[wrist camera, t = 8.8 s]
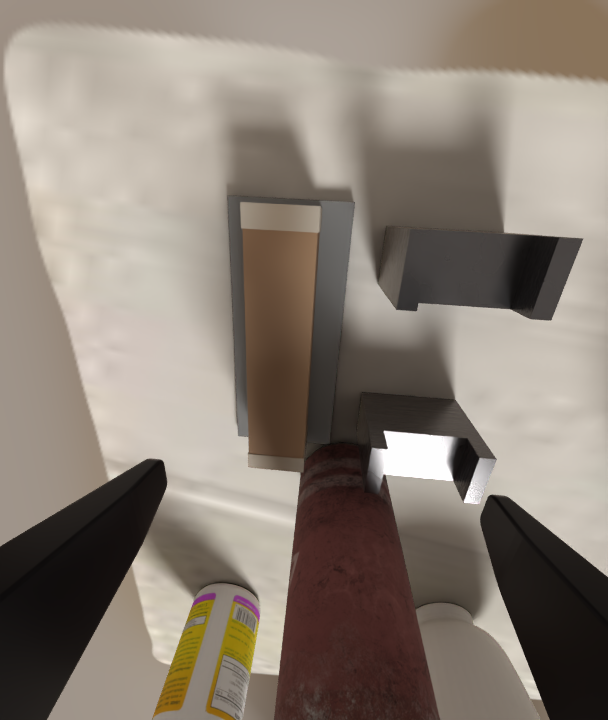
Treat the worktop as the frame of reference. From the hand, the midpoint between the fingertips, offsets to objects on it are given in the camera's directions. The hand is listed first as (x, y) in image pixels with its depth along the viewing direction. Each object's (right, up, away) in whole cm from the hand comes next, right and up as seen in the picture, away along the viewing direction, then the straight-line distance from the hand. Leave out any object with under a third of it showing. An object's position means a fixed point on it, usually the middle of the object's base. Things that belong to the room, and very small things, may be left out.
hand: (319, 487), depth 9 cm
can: (+3, -5, +15) cm, 16 cm away
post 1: (+7, +9, +8) cm, 14 cm away
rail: (-1, +5, +10) cm, 11 cm away
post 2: (+6, 0, +12) cm, 14 cm away
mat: (-1, +5, +11) cm, 12 cm away
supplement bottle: (-8, -20, +23) cm, 32 cm away
